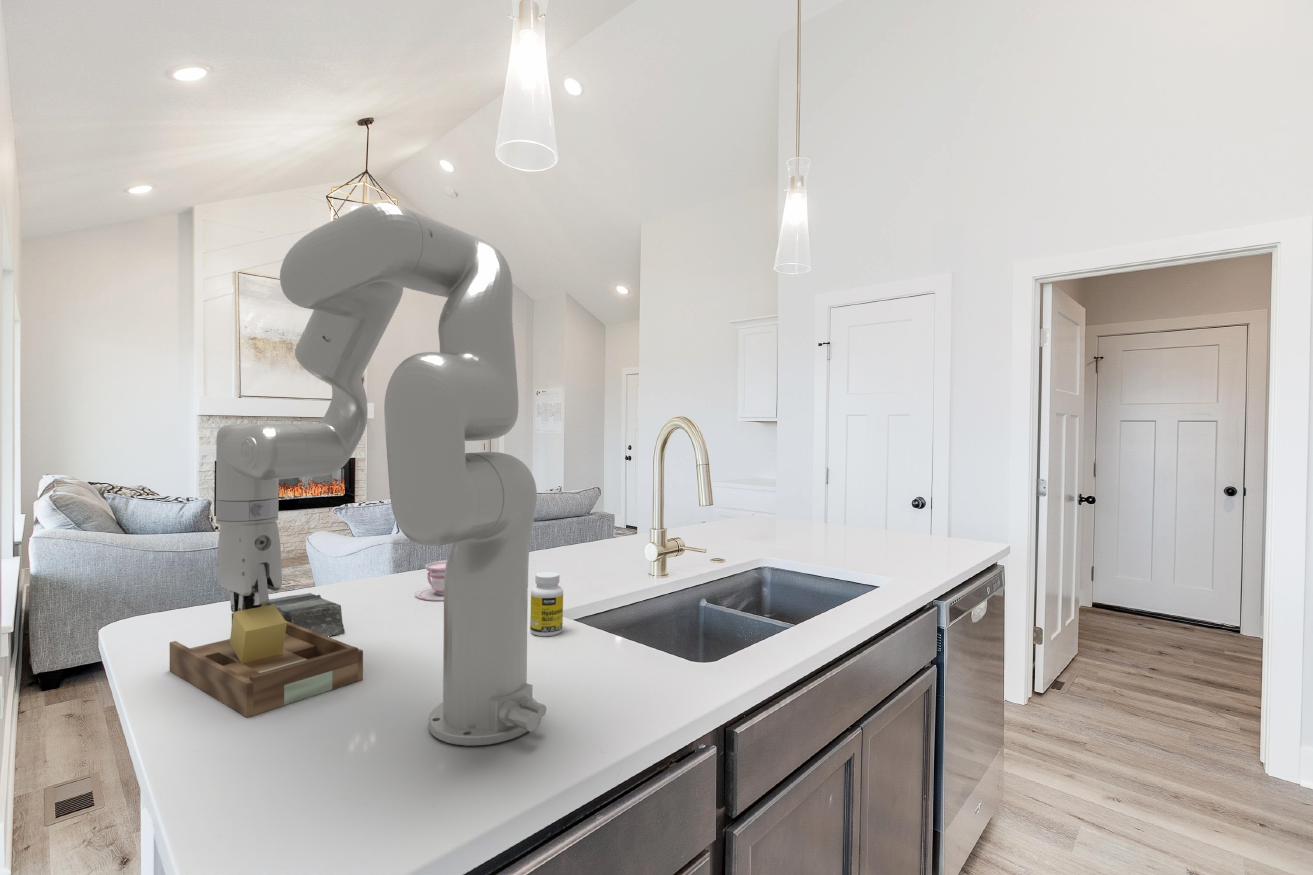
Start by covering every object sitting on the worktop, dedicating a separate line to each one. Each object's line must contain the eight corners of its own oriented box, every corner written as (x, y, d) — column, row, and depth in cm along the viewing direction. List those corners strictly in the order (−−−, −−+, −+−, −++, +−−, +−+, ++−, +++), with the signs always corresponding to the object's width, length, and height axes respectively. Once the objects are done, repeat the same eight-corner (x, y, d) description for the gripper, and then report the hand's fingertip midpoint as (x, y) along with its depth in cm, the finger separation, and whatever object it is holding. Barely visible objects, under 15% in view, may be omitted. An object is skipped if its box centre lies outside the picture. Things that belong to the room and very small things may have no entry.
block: (282, 653, 90) (286, 622, 89) (241, 663, 86) (245, 631, 85) (269, 634, 93) (273, 604, 92) (229, 643, 89) (233, 611, 88)
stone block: (317, 616, 117) (317, 588, 117) (349, 635, 107) (350, 603, 107) (261, 627, 111) (262, 596, 111) (291, 647, 101) (291, 614, 101)
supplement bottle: (540, 639, 106) (540, 579, 105) (524, 630, 110) (525, 573, 110) (568, 632, 109) (569, 575, 109) (552, 624, 113) (552, 569, 113)
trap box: (362, 679, 88) (363, 646, 88) (246, 717, 76) (246, 679, 76) (278, 643, 102) (278, 614, 102) (169, 670, 90) (169, 638, 90)
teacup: (444, 584, 141) (444, 556, 141) (488, 591, 136) (488, 561, 136) (401, 597, 130) (401, 566, 130) (447, 605, 125) (448, 573, 125)
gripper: (301, 513, 91) (299, 644, 91) (252, 504, 99) (251, 623, 100) (241, 519, 84) (240, 659, 85) (195, 508, 93) (194, 635, 93)
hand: (246, 639), depth 92 cm, fingers closed
